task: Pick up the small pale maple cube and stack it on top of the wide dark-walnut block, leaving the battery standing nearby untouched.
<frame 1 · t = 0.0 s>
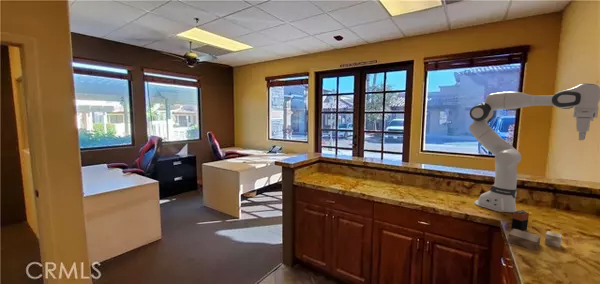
hand: (581, 139, 142), 48 cm above the counter, fingers open, 8 cm apart
walnut block: (523, 242, 124), on the counter
maple cube: (552, 244, 123), on the counter
battery: (519, 229, 140), on the counter
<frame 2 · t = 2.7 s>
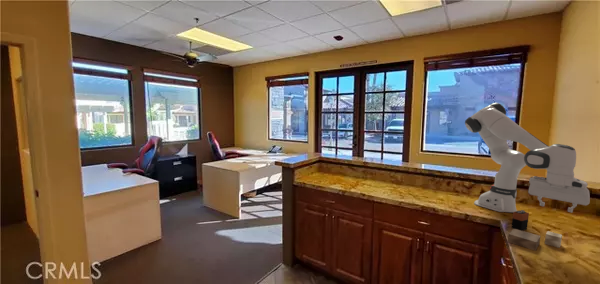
hand: (555, 208, 122), 17 cm above the counter, fingers open, 8 cm apart
nothing on the counter moved.
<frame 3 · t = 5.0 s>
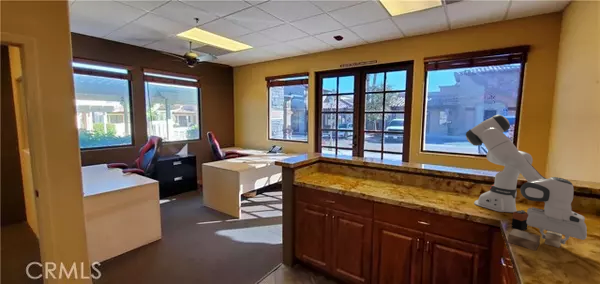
hand: (553, 240, 123), 2 cm above the counter, fingers closed on maple cube, 5 cm apart
maple cube: (552, 244, 123), on the counter, touching gripper
everything else where it was.
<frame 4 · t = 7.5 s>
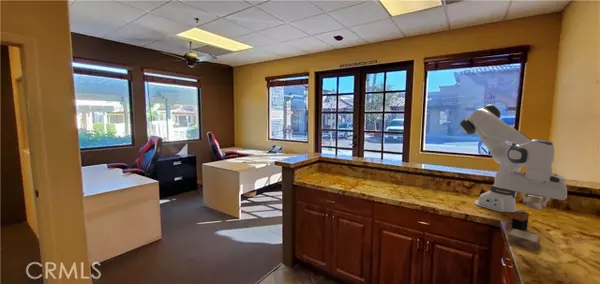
hand: (534, 204, 121), 19 cm above the counter, fingers closed on maple cube, 5 cm apart
maple cube: (533, 207, 122), point 18 cm above the counter, touching gripper
everything else where it was.
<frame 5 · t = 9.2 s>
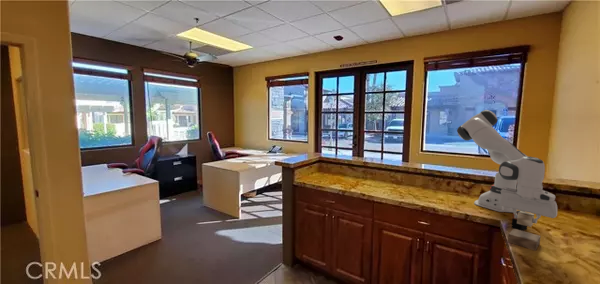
hand: (525, 220, 123), 11 cm above the counter, fingers closed on maple cube, 5 cm apart
maple cube: (524, 223, 123), point 9 cm above the counter, touching gripper
everything else where it was.
when the fingers open (7 cm above the counter, at t = 10.4 s): maple cube drops 1 cm, resting on walnut block.
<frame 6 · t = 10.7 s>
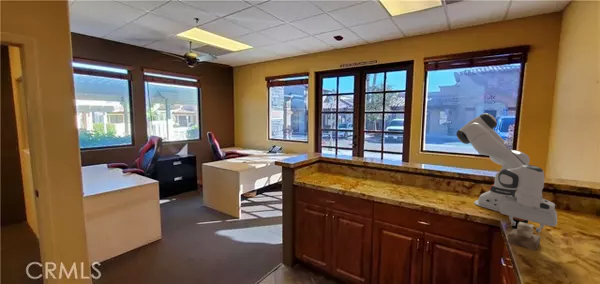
hand: (525, 228, 123), 7 cm above the counter, fingers open, 8 cm apart
maple cube: (524, 234, 123), point 4 cm above the counter, touching walnut block
everything else where it was.
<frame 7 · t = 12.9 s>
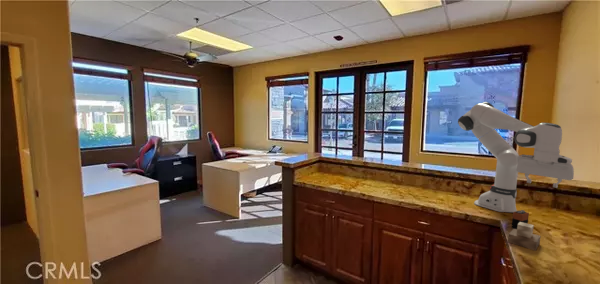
hand: (541, 185, 127), 27 cm above the counter, fingers open, 8 cm apart
nothing on the counter moved.
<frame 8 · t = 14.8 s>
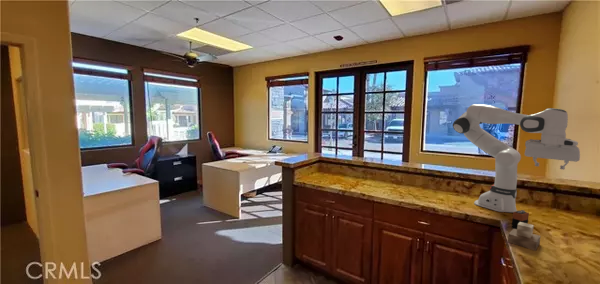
hand: (549, 167, 133), 34 cm above the counter, fingers open, 8 cm apart
nothing on the counter moved.
at the end: maple cube inside the target area on the walnut block (0.0 cm from its centre), point 4.0 cm above the walnut block's base; maple cube tilted 0°; the gripper is holding nothing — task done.
